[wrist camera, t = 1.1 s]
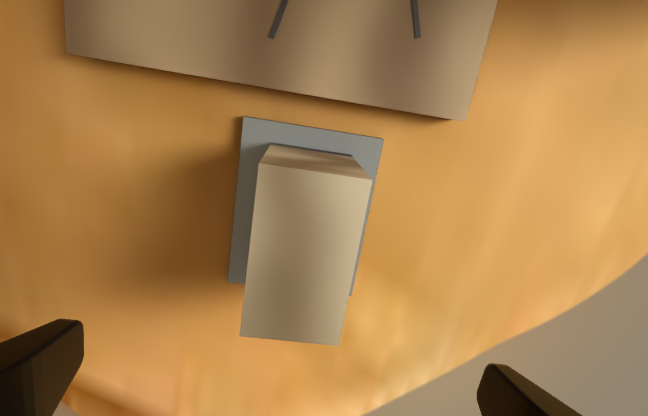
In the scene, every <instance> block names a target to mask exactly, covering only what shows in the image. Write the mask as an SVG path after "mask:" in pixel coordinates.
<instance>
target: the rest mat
mask: <svg viewBox="0 0 648 416" xmlns="http://www.w3.org/2000/svg"><path fill="white" fill-rule="evenodd" d="M383 141H384V139H382V138H377V137H371V136H365V135H359V134H353V133H346V132H340V131H334V130H328V129H322V128H316V127H309V126H303V125H297V124H291V123H285V122H278V121H272V120H266V119H260V118H254V117H248V116H244V117H243V127H242V137H241V148H240V158H239V168H238V179H237V189H236V200H235V210H234V220H233V231H232V241H231V252H230V262H229V273H228V282H230V283H239V284H245V283H246V274H247V265H248V256H249V247H250V238H251V229H252V220H253V211H254V202H255V194H256V185H257V176H258V167H259V162H260V161H261V159H262V157H263V156H264V154H265V153H266V151H267V150H268V148H269V146H270V145H271V143H272V142H273V143H280V144H286V145H293V146H299V147H305V148H312V149H318V150H325V151H331V152H338V153H344V154H351V155H352V156H353V157H354V159H355V160H356V161H357V162H358V163H359V165H360V166H361V167H362V168H363V169H364V171H365V172H366V173H367V174H368V175H369V176H370V178H371V179H372V180H373V181H372V185H371V190H370V195H369V200H368V205H367V210H366V215H365V219H364V224H363V229H362V234H361V239H360V244H359V249H358V253H357V258H356V263H355V268H354V273H353V278H352V283H351V287H350V292H349V296H351V295H352V290H353V285H354V280H355V275H356V271H357V266H358V261H359V256H360V251H361V247H362V242H363V237H364V232H365V227H366V223H367V218H368V213H369V208H370V203H371V199H372V194H373V189H374V184H375V179H376V175H377V170H378V165H379V160H380V155H381V151H382V146H383Z"/></svg>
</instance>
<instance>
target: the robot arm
mask: <svg viewBox="0 0 648 416" xmlns="http://www.w3.org/2000/svg"><path fill="white" fill-rule="evenodd" d="M83 357H84V330H83V324H82V322H80V321H79V320H70V319H58V320H55V321H53V322H50V323H48V324H45V325H43V326H40V327H38V328H36V329H33V330H31V331H28V332H26V333H23V334H21V335H19V336H16V337H14V338H11V339H9V340H6V341H4V342H2V343H0V416H52V415H53V413H54V411H55V410H56V408H57V406H58V404H59V403H60V401H61V399H62V397H63V396H64V394H65V392H66V390H67V389H68V387H69V385H70V383H71V382H72V380H73V378H74V376H75V375H76V373H77V371H78V369H79V368H80V366H81V363H82V361H83ZM477 401H478V405H479V408H480V411H481V414H482V416H582V415H581V414H579V413H578V412H576V411H575V410H573V409H572V408H570V407H569V406H567V405H566V404H564V403H563V402H561V401H560V400H558V399H557V398H555V397H554V396H552V395H551V394H549V393H548V392H546V391H545V390H543V389H542V388H540V387H538V386H537V385H535V384H534V383H533V382H531V381H530V380H528V379H527V378H525V377H524V376H522V375H521V374H519V373H518V372H516V371H515V370H513V369H512V368H510V367H509V366H507V365H503V364H494V363H491V364H488V365H487V366H486V368H485V370H484V373H483V376H482V379H481V381H480V384H479V388H478V390H477Z"/></svg>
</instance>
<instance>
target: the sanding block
mask: <svg viewBox="0 0 648 416" xmlns="http://www.w3.org/2000/svg"><path fill="white" fill-rule="evenodd" d="M372 181H373V180H372V179H371V178H370V176H369V175H368V174H367V173H366V172H365V171H364V169H363V168H362V167H361V166H360V165H359V163H358V162H357V161H356V160H355V159H354V157H353V156H352V155H351V154H344V153H338V152H331V151H325V150H318V149H312V148H305V147H299V146H293V145H286V144H280V143H273V142H272V143H271V145H270V146H269V148H268V150H267V151H266V153H265V154H264V156H263V157H262V159H261V161H260V162H259V167H258V176H257V185H256V194H255V202H254V211H253V220H252V229H251V238H250V247H249V256H248V265H247V274H246V283H245V292H244V301H243V310H242V319H241V327H240V336H243V337H253V338H263V339H273V340H283V341H293V342H304V343H314V344H324V345H334V346H339V341H340V336H341V331H342V326H343V321H344V316H345V312H346V307H347V302H348V297H349V292H350V287H351V283H352V278H353V273H354V268H355V263H356V258H357V253H358V249H359V244H360V239H361V234H362V229H363V224H364V219H365V215H366V210H367V205H368V200H369V195H370V190H371V185H372Z"/></svg>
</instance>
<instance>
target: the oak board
mask: <svg viewBox="0 0 648 416" xmlns="http://www.w3.org/2000/svg"><path fill="white" fill-rule="evenodd" d="M497 2H498V0H64V19H65V44H66V54H72V55H78V56H83V57H89V58H95V59H100V60H106V61H112V62H118V63H124V64H130V65H136V66H141V67H147V68H153V69H159V70H165V71H171V72H177V73H182V74H188V75H194V76H200V77H206V78H212V79H217V80H223V81H229V82H235V83H241V84H247V85H253V86H258V87H264V88H270V89H276V90H282V91H288V92H294V93H299V94H305V95H311V96H317V97H323V98H329V99H334V100H340V101H346V102H352V103H358V104H364V105H370V106H375V107H381V108H387V109H393V110H399V111H405V112H411V113H416V114H422V115H428V116H434V117H440V118H446V119H451V120H458V121H464V122H465V121H466V118H467V114H468V110H469V107H470V103H471V99H472V95H473V92H474V88H475V84H476V81H477V77H478V73H479V69H480V66H481V62H482V58H483V55H484V51H485V47H486V43H487V40H488V36H489V32H490V28H491V25H492V21H493V17H494V14H495V10H496V6H497Z"/></svg>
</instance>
